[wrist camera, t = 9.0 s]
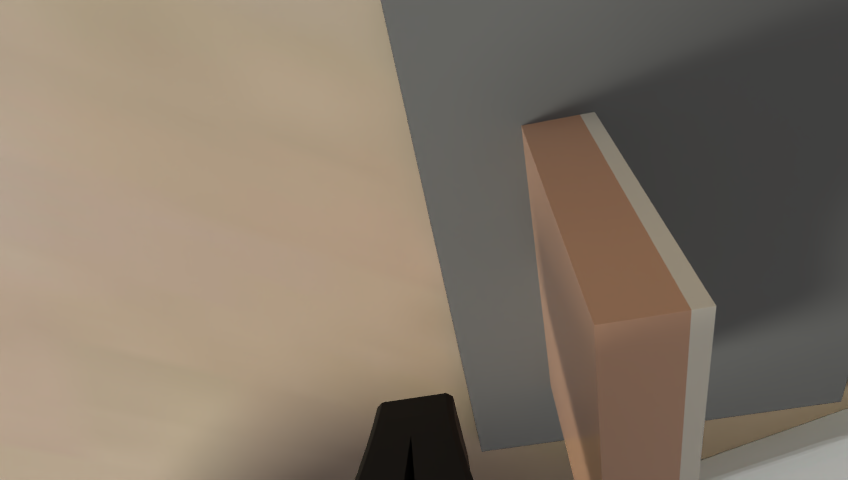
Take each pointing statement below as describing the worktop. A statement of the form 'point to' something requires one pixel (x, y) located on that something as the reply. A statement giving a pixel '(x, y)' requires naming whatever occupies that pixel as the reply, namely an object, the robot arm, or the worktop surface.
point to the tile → (615, 310)
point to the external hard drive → (788, 454)
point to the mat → (640, 178)
